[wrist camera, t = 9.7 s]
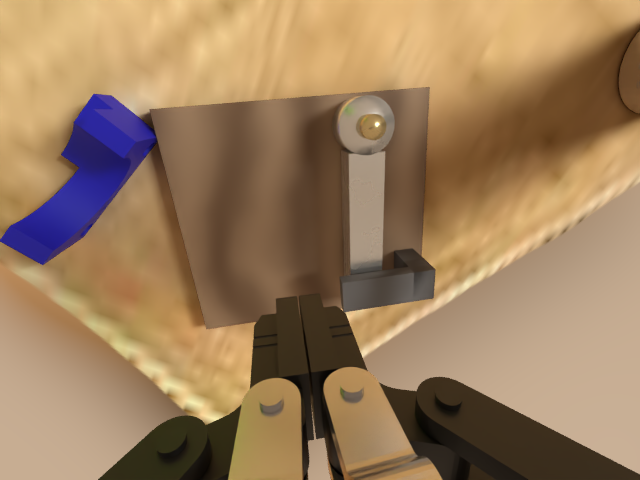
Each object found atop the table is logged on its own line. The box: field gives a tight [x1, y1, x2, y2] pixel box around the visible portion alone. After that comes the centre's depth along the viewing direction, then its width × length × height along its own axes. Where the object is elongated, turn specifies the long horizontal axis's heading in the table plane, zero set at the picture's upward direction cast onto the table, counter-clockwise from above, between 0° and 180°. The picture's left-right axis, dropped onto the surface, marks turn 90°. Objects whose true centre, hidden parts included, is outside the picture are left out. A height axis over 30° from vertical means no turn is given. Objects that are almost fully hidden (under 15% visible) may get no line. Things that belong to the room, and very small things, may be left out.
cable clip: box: [0, 94, 157, 265], centre depth 25 cm, size 12×4×6 cm, turn 137°
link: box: [332, 95, 395, 276], centre depth 28 cm, size 18×4×5 cm, turn 3°
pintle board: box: [149, 87, 435, 329], centre depth 29 cm, size 23×21×6 cm
